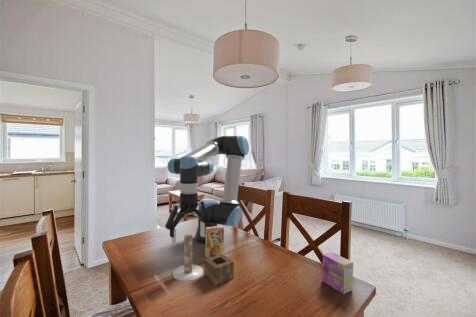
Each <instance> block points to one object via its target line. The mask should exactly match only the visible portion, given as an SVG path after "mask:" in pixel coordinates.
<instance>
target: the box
mask: <svg viewBox="0 0 476 317" xmlns="http://www.w3.org/2000/svg"><path fill="white" fill-rule="evenodd" d="M321 274H322V276H321V277H322V278H321V280H322V282H323V283H325V284H326V285H328V286H329V285H330V286H329V287H331V288H332V289H334V290H336V291H337V292H339V293H340V294H342V295H346V294H347V293H350V292H352V291H353V278H354V262H353V261H352V260H350V259H347V258H345V257H343V256H341V255H339V254H336V253H334V252H332V251H329V252H325V253H324V254H322V273H321ZM345 293H346V294H345Z"/></svg>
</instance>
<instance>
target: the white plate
mask: <svg viewBox="0 0 476 317" xmlns="http://www.w3.org/2000/svg"><path fill="white" fill-rule="evenodd" d="M203 273H204V269H203V268H202V266H200V265H198V264H195V263H192V273H190V274H185V273H184V264H182V265H180V266H178V267H176V268H175V269H174V270H173V271H172V277H173V278H174V279H175V280H178V281H181V282H188V281H193V280H196V279H198V278H200V277H201V276H202V275H203Z"/></svg>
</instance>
